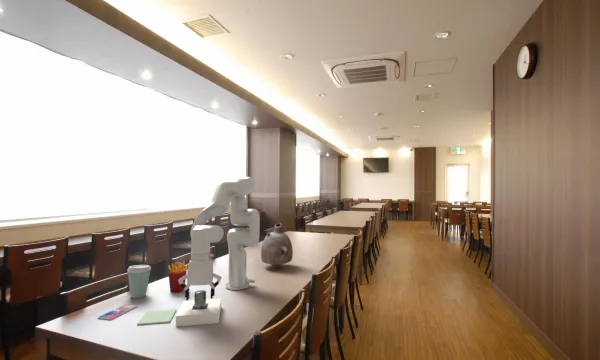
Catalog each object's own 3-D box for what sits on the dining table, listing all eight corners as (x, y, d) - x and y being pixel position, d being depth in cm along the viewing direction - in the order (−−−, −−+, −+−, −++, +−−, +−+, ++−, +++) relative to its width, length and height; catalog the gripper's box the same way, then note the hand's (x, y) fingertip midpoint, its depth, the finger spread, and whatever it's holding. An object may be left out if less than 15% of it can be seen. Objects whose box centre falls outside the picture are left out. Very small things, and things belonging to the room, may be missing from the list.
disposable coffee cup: (134, 292, 155) (135, 262, 155) (155, 292, 155) (155, 263, 155) (121, 299, 144) (122, 268, 145) (143, 299, 144) (144, 268, 144)
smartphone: (138, 305, 136) (111, 319, 121) (138, 307, 136) (111, 321, 121) (125, 303, 138) (96, 317, 123) (125, 305, 138) (96, 319, 123)
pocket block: (221, 307, 135) (221, 298, 135) (218, 322, 119) (218, 312, 119) (183, 310, 132) (183, 300, 132) (175, 326, 116) (175, 316, 116)
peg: (206, 313, 128) (206, 289, 128) (205, 318, 124) (205, 293, 124) (195, 314, 127) (195, 290, 128) (193, 319, 123) (193, 294, 123)
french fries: (179, 293, 152) (179, 264, 153) (164, 292, 154) (165, 263, 155) (189, 288, 161) (189, 260, 162) (175, 287, 163) (175, 259, 163)
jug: (252, 268, 202) (253, 223, 203) (273, 261, 220) (273, 220, 221) (281, 273, 188) (281, 225, 189) (300, 266, 206) (300, 222, 207)
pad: (176, 310, 131) (176, 309, 131) (169, 322, 119) (169, 321, 119) (146, 312, 129) (146, 311, 129) (137, 325, 117) (137, 323, 117)
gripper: (222, 254, 131) (221, 294, 131) (180, 256, 128) (179, 296, 127) (221, 258, 124) (220, 300, 123) (176, 259, 121) (176, 303, 120)
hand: (199, 298), depth 125 cm, fingers open, 9 cm apart
